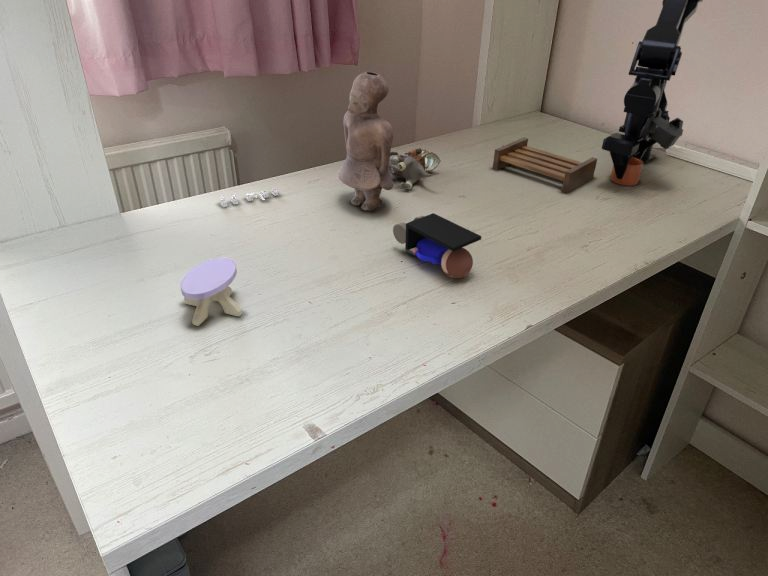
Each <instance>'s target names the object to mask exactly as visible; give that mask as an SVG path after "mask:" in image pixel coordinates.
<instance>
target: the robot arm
mask: <svg viewBox="0 0 768 576" xmlns="http://www.w3.org/2000/svg"><path fill="white" fill-rule="evenodd" d="M703 1H704V0H662V4H661V5H662V7H661V11H660V13H659V15H658V18H657V21H656V23H655V25H654V26H652V27H650V28H649V29H647V30H646V31H645V35H644V36H643V38H642V41H641V40H639V41H638V44H637V46H636V49H635V52H634V56H633V59H632V62H631V65H630V67H629V70H628V76H635V78H634V81H633V83H632V85H631V86H630V88H629V89H628V90H627V91H626V93H625V95H624V97H623V105H624V107H623V113H626V114H625V118H624V122H623V124H622V125H620V126H619V128H618V132H615V133H612V134H610V135H609V136H607V137H605V138H603V141H602V144H601V150H603V151H607V152H609V155H610V157H611V160H612V164H613V165H614V169H615V173H616V177H617V178H618V179H622V178H623V176H624V174H625V171H626V169H627V167H628V164H629V162H630V160H631V158H632V157H635V158H638V159H640V160H642V161H643V164H647V163H648V162H650V161H652V160H653V159H654V158H655V157H656V155H655V154H653V153H652V151H653V147H654V145H655V144H659V147H661V148H663V149H665V150H667V149H668V150H669V149H670V148H671V147H673V146H674V145H675V144H676V143H677V142H678V140H679V138H680V137H681V136H683V132H684V129H683V125H684V120H682V119H681V118H679V117H675V118H673V119H672V120H671V121H670V119H671V118H670V116H669V112H670V111H669V110H667V109H668V105H669V104H668V100H667V97H666V96H667V95H666V92H665V91H666V87H667V84H668V81H671V79H672V76H676V73H677V71H678V68H679V65H680V63H681V60H682V59H681V58H682V55H683V52H682V51H681V50H682V47H681V45H679V44H680V40H681V37H682V35H683V34H682V33H683V31H684V27H685V25H686V23H687V22H688V21H689V20H690V19H691V18H692V17H693V16H694V14H696V12H697V9H698V7H699V3H703ZM613 165H612V166H613Z"/></svg>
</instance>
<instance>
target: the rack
mask: <svg viewBox="0 0 768 576" xmlns="http://www.w3.org/2000/svg"><path fill="white" fill-rule="evenodd" d="M528 142H529V138H528V137H520V138H519V139H517V140H515V141H512V142H509V143H507V144H505V145H503V146H500V147H498V148H496V149H494V154H493V160H492V161H493V162H492V168H491V169H492V170H495V171H498V170H500V169H503V168H505V167H507V166H509V165H512V166H516V167H520V168H523V169H526V170H529V171H532V172H535V173H538V174H541V175H545V176H547V177H551V178H554V179H556V180H559V181H562V187H561V193H562V194H563V193H564V194H568V193H570V192H572V191H574V190H575V189H577V188H578V187H580V186H582V185H585V184H586V183H587V182H589V181H591V180H592V179H594V176H595V171H596V167H597V164H598V163H597V162H598V158H597V157H593V156H592V157H590V158H588V159H587V160H584V161H583V162H582V161H579V160H576V159H572V158H569V157H565V156H562V155H558V154H555V153H552V152H549V151H547V150H542V149H538V148H535V147H532V146H529V145H528Z"/></svg>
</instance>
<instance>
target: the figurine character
mask: <svg viewBox="0 0 768 576" xmlns="http://www.w3.org/2000/svg"><path fill="white" fill-rule="evenodd" d="M393 225H394V226H393V227H392V233H393V236H394V238H395V240H396V241H397V242H398V244H401V245H404V244H405V245H404V250H405V252H406V253H408V254H410V255H411V256H414V257H417V258H418V259H419V260H420V261H425V262H430V263H432V265H440V266H441V270H442V271H443V272H444V274H445V275H447V276H448V277H450V278H453V279H461V278H463V277H465V276H467V275H468V274H469V273H470V272H471V271H472V269H473V265H474V259H473V256H472V254H471V252H470V251H468V249H466V248H465V247H467V246H470V245H471V244H474V243H477V242H479V241H481V240H482V235H481V234H477V233H476V232H473V231H472V230H469V229H468V228H465V227H464V226H461V225H459V224H458V223H455V222H452V221H450V220H448V219H447V218H445V217H443V216H440V215H438V214H436V213H434V212H433V213H430V214H427V215H420V216H416V217H415V218H413V220H411V221H409V222H403V221H402V222H399V223H396V224H393Z"/></svg>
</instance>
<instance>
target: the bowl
mask: <svg viewBox="0 0 768 576" xmlns="http://www.w3.org/2000/svg"><path fill="white" fill-rule="evenodd" d="M643 167H644V163H643V161H642V160H640V159H638V158H635V157H632V158H631V160H630V162H629V164H628V167H627V169H626V171H625V174H624V176H623V178H622V179H618V178H617V177H616V173H615V169H614V165H612V168H611V174H610V178H609V179H610V180H611V181H612V182H614V183H615V184H618V185H623V186H635V185H638V183H639V180H640V177H641V174H642V170H643Z"/></svg>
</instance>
